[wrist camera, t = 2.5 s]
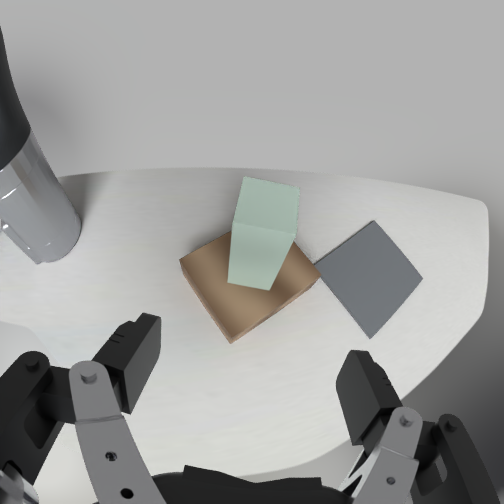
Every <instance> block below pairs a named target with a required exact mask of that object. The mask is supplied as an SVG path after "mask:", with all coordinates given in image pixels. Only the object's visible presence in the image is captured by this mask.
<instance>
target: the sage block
mask: <svg viewBox="0 0 504 504" xmlns="http://www.w3.org/2000/svg"><path fill="white" fill-rule="evenodd" d="M299 192H300V188H299V187H294V186H290V185H285V184H281V183H276V182H271V181H266V180H261V179H256V178H250V177H245V176H244V178H243V182H242V186H241V190H240V194H239V198H238V202H237V206H236V211H235V215H234V219H233V224H232V235H231V246H230V258H229V269H228V282H227V283H232V284H237V285H242V286H248V287H253V288H258V289H264V290H270V288H271V286H272V284H273V282H274V280H275V278H276V276H277V274H278V272H279V270H280V268H281V266H282V264H283V262H284V260H285V257H286V255H287V253H288V251H289V249H290V247H291V245H292V243H293V241H294V239H295V236H296V234H297V221H298V207H299Z"/></svg>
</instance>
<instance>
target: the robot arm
mask: <svg viewBox="0 0 504 504" xmlns="http://www.w3.org/2000/svg"><path fill="white" fill-rule="evenodd" d="M0 219H1V227H2V230H3V232H4V233H5V234H6V235H7V236H8V237H9V238H10V239H11V240H12V241H13V242H14V243H15V244H16V245H17V246H18V247H19V248H20V249H21V250H22V251H23V252H24V253H25V254H26V255H27V256H28V257H29V258H31V259H32V260H33V261H34V262H35V263H36V264H39V263H40V262H54V261H56V260H59V259H60V258H62V257H64V256H65V255H66V254H67V253H68V252H69V251H70V250H71V249H72V248H73V247H74V245H75V243H76V242H77V239H78V237H79V234H80V230H81V221H80V218H79V216H78V214H77V212H76V210H75V209H74V207H73V205H72V204H71V203H70V201H69V199H68V197H67V196H66V194H65V192H64V191H63V189H62V187H61V186H60V184H59V182H58V180H57V178H56V177H55V175H54V173H53V171H52V170H51V168H50V166H49V164H48V162H47V160H46V158H45V156H44V154H43V152H42V150H41V148H40V146H39V144H38V142H37V140H36V138H35V136H34V133H33V131H32V129H31V127H30V124H29V122H28V120H27V118H26V116H25V113H24V111H23V109H22V106H21V104H20V101H19V99H18V96H17V93H16V90H15V88H14V84H13V81H12V77H11V74H10V69H9V65H8V61H7V55H6V51H5V45H4V40H3V35H2V31H1V28H0ZM160 348H161V317H159V316H155V315H151V314H147V313H142V314H141V315H140V317H139V318H138V319H137V320H136V322H132V321H128V322H126V323H124V324H122V325H120V326H119V327H118V328H117V329H116V331H115V332H114V334H112V335H111V337H110V338H109V340H107V342H106V343H105V344H104V345H103V346H102V348H101V349H100V350H99V351H98V353H97V354H96V355H95V356H94V358H93V359H92V360H91V361H81V362H78V363H76V364H75V365H73V366H72V367H71V369H67V368H61V367H55V366H50V363H49V359H48V357H46V355H44V354H43V353H41V352H37V351H30V352H26V353H23V354H22V355H20V356H19V357H18V359H17V360H16V361H15V362H14V363H13V364H12V365H11V366H10V367H9V368H8V369H7V371H6V372H5V373H4V374H3V375H2V376H1V377H0V504H39V497H38V494H37V492H36V490H35V489H34V488H33V485H34V482H35V480H36V478H37V476H38V474H39V472H40V470H41V468H42V466H43V463H44V461H45V459H46V457H47V455H48V453H49V451H50V450H51V448H52V446H53V444H54V442H55V440H56V438H57V436H58V434H59V432H60V431H61V429H62V427H63V425H64V423H70V424H75V428H76V432H77V436H78V440H79V444H80V448H81V452H82V455H83V458H84V462H85V465H86V468H87V471H88V474H89V477H90V480H91V483H92V486H93V489H94V491H95V494H96V496H97V499H98V502H96V503H93V504H405V502H406V499H407V497H408V494H409V492H410V493H411V496H412V500H413V504H500V501H499V499H498V496H497V493H496V491H495V489H494V486H493V484H492V482H491V479H490V477H489V475H488V473H487V470H486V468H485V466H484V464H483V462H482V460H481V458H480V456H479V454H478V452H477V450H476V448H475V446H474V444H473V442H472V440H471V438H470V436H469V434H468V433H467V431H466V429H465V427H464V425H463V423H462V422H461V421H460V419H459V418H457V417H456V416H454V415H451V414H444V415H442V416H441V417H440V418H439V419H438V420H437V422H436V423H435V422H427V421H422V418H421V416H420V415H419V414H418V413H417V412H416V411H415V410H413V409H411V408H408V407H403V405H402V403H401V401H400V399H399V397H398V395H397V393H396V392H395V390H394V388H393V386H391V382H390V380H389V379H388V376H387V375H386V373H385V371H384V369H383V368H381V367H380V366H379V365H378V364H377V363H376V362H374V361H373V359H372V357H371V355H370V354H369V352H368V351H360V350H351V351H350V352H349V353H348V355H347V357H346V359H345V362H344V364H343V366H342V368H341V370H340V372H339V374H338V376H337V380H336V390H337V394H338V397H339V400H340V404H341V407H342V410H343V414H344V417H345V421H346V424H347V428H348V431H349V435H350V438H351V442H352V445H353V446H354V445H363V446H364V449H363V450H362V451H361V453H360V455H359V457H358V458H357V460H356V462H355V463H354V465H353V467H352V468H351V470H350V472H349V473H348V475H347V476H346V478H345V480H344V481H343V482H342V484H341V485H340V486H339V488H338V489H337V490H336V489H333V488H331V487H327V486H323V485H322V483H321V478H320V477H314V478H285V479H280V480H274V481H267V482H260V483H253V482H249V481H246V480H243V479H240V478H236V477H233V476H231V475H228V474H225V473H222V472H219V471H213V470H208V469H202V468H197V467H193V466H188V465H185V466H184V471H183V472H172V473H163V474H158V475H154V476H151V475H150V473H149V471H148V469H147V467H146V465H145V463H144V461H143V459H142V457H141V455H140V453H139V451H138V449H137V446H136V444H135V442H134V439H133V437H132V435H131V432H130V430H129V427H128V425H127V423H126V420H125V418H124V416H122V414H121V412H124V413H127V414H130V415H131V413H132V411H133V409H134V407H135V404H136V402H137V400H138V398H139V396H140V394H141V392H142V390H143V388H144V386H145V384H146V382H147V380H148V378H149V376H150V374H151V372H152V370H153V368H154V366H155V364H156V362H157V360H158V358H159V354H160ZM441 456H442V459H443V461H444V464H445V466H446V468H447V478H446V480H445V481H444V482H443V483H442V480H441V477H440V474H439V472H438V469H437V466H436V464H435V462H436V461H437V460H438V459H439V458H440V457H441Z"/></svg>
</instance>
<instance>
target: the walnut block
mask: <svg viewBox="0 0 504 504" xmlns="http://www.w3.org/2000/svg"><path fill="white" fill-rule="evenodd" d="M231 235H232V231H230V232H228V233H226V234H224V235H223V236H221V237H219V238H217V239H215V240H213V241H212V242H210V243H208V244H206V245H204V246H203V247H201V248H199V249H197V250H195V251H194V252H192V253H190V254H188V255H186V256H185V257H183V258H181V259H179V260H180V264H181V267H182V271H183V274H184V276H185V278H186V279H187V281H188V282H189V284H190V285H191V287H192V288H193V290H194V291H195V293H196V295H197V296H198V298H199V299H200V301H201V302H202V304H203V305H204V307H205V308H206V310H207V311H208V313H209V314H210V315H211V317H212V318H213V320H214V321H215V323H216V324H217V326H218V327H219V328H220V330H221V331H222V333H223V334H224V336H225V337H226V338H227V340H228V341H229V343H230V344H231V343H233V342H234V341H236V340H237V339H239V338H240V337H242V336H243V335H245V334H246V333H248V332H249V331H251V330H252V329H254V328H255V327H257V326H258V325H259V324H261V323H262V322H264V321H265V320H267V319H268V318H270V317H271V316H272V315H274V314H275V313H277V312H278V311H279V310H281V309H282V308H284V307H285V306H286V305H288V304H289V303H291V302H292V301H293V300H295V299H296V298H297V297H299V296H300V295H302V294H303V293H304V292H306V291H307V290H308V289H310V288H311V287H312V286H313V284H314V283H315V282H316V281H317V280H318V278H319V277H320V276H321V273H320V272H319V271H318V270H317V269H316V267H315V266H314V265H313V264H312V263H311V261H310V260H309V259H308V258H307V257H306V255H305V254H304V253H303V252H302V251H301V250H300V248H299V247H298V246H297V245H296V244H295V243H294V241H293V243H292V245H291V247H290V249H289V251H288V253H287V255H286V257H285V260H284V262H283V264H282V266H281V268H280V270H279V272H278V274H277V276H276V278H275V280H274V282H273V284H272V286H271V288H270V290H264V289H258V288H253V287H248V286H242V285H237V284H232V283H227V282H228V269H229V258H230V246H231Z"/></svg>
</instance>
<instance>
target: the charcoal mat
mask: <svg viewBox="0 0 504 504" xmlns="http://www.w3.org/2000/svg"><path fill="white" fill-rule="evenodd" d="M314 266H315V267H316V269H317V270H318V271H319V272H320V273H321V276H320V277H321V279H322V280H323V281H324V282H325V283H326V285H327V286H328V287H329V288H330V290H331V291H332V292H333V293H334V295H335V296H336V297H337V298H338V299H339V301H340V302H341V303H342V304H343V306H344V307H345V308H346V309H347V311H348V312H349V313H350V314H351V316H352V317H353V318H354V320H355V321H356V322H357V323H358V325H359V326H360V327H361V328H362V330H363V331H364V332H365V334H366V335H367V336H368V337H369V339H371V338H372V337H373V336H374V335H375V334H376V333H377V332H378V331H379V330H380V328H381V327H382V326H383V325H384V324H385V323H386V322H387V321H388V320H389V319H390V318H391V316H392V315H393V314H394V313H395V312H396V311H397V310H398V308H399V307H400V306H401V305H402V304H403V303H404V301H405V300H406V299H407V298H408V297H409V295H410V294H411V293H412V292H413V291H414V289H415V288H416V287H417V286H418V284H419V283H420V282H421V280H422V279H423V278H422V276H421V275H420V274H419V273H418V271H417V270H416V269H415V267H414V266H413V265H412V264H411V262H410V261H409V260H408V259H407V258H406V256H405V255H404V254H403V253H402V251H401V250H400V249H399V248H398V247H397V246H396V244H395V243H394V242H393V241H392V240H391V239H390V237H389V236H388V235H387V234H386V233H385V232H384V231H383V229H382V228H381V227H380V226H379V225H378V224H377V223H376V222H375V221H373V222H372V223H370V224H369V225H368V226H366V227H365V228H364V229H363V230H361V231H360V232H359V233H357V234H356V235H355V236H353V237H352V238H351V239H349V240H348V241H347V242H345V243H344V244H343V245H341V246H340V247H339V248H337V249H336V250H334V251H333V252H332V253H330V254H329V255H328V256H326V257H325V258H323V259H322V260H321V261H319V262H318V263H317V264H315V265H314Z"/></svg>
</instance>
